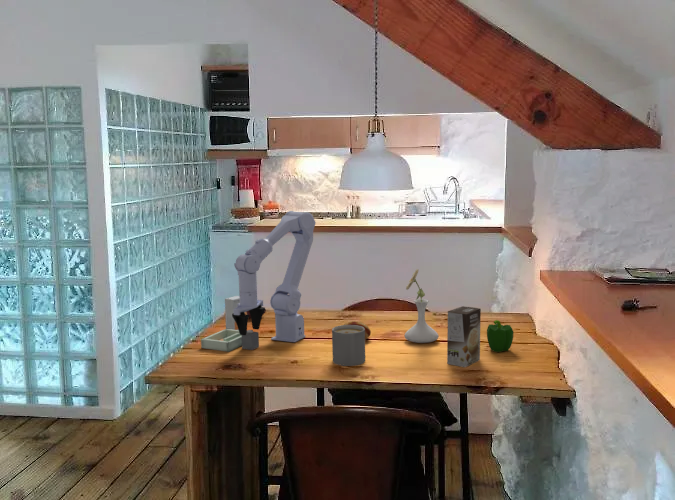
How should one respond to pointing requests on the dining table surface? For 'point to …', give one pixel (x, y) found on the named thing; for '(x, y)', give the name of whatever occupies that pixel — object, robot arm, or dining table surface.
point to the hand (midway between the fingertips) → (249, 331)
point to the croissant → (367, 330)
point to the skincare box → (231, 312)
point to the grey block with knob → (250, 340)
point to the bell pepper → (499, 336)
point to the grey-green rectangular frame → (223, 340)
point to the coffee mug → (348, 345)
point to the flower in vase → (420, 319)
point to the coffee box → (463, 336)
